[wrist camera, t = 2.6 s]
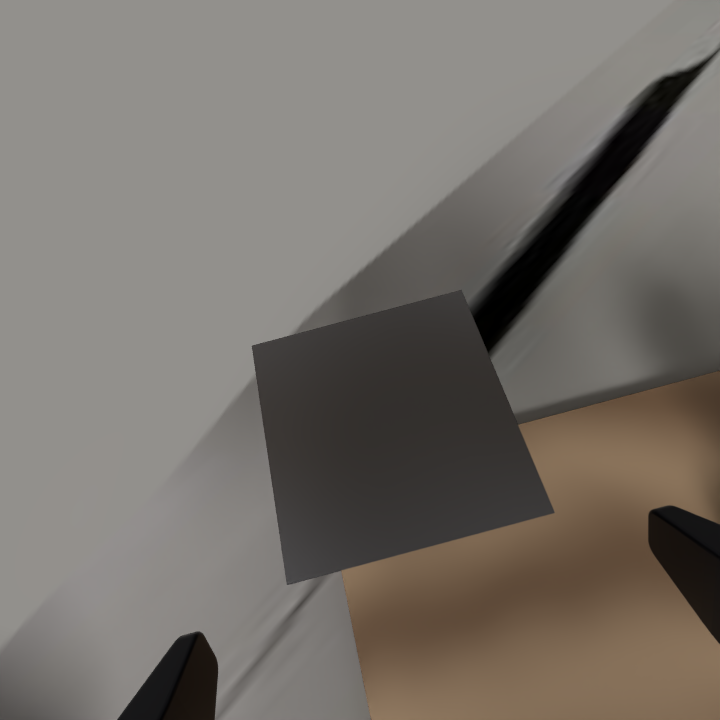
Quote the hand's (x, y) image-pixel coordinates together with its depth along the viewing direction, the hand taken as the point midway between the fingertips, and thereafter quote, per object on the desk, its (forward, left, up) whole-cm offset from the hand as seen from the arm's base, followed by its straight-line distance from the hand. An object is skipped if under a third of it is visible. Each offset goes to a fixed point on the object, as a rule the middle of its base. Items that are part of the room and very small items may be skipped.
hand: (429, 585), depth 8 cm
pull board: (-8, -6, -10) cm, 14 cm away
